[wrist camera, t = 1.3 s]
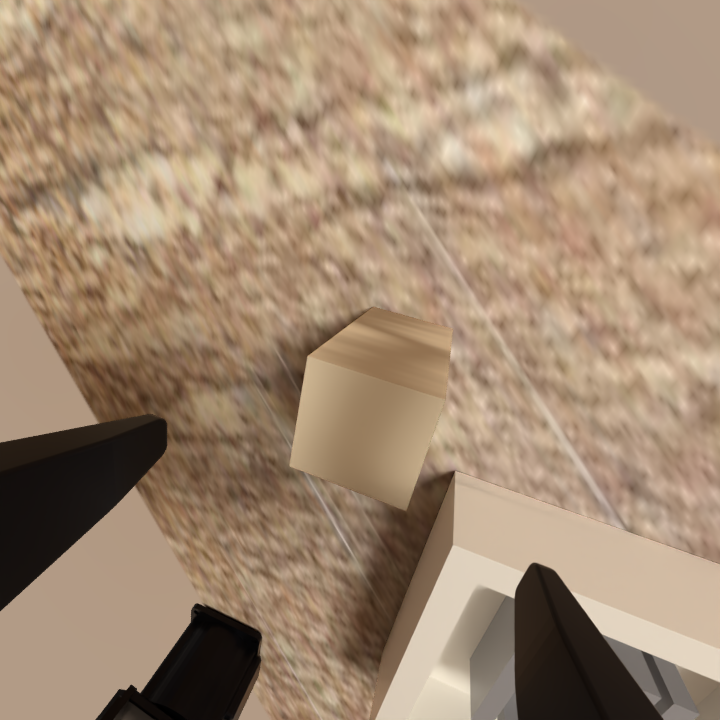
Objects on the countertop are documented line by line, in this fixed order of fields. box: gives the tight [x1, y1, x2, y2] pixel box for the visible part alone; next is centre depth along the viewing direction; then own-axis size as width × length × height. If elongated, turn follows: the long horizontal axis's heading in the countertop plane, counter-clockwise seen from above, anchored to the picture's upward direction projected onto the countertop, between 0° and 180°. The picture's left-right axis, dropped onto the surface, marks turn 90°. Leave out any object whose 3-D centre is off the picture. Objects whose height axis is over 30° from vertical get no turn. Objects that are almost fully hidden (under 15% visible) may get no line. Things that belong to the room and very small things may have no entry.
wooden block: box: [289, 307, 453, 511], centre depth 14 cm, size 4×4×8 cm
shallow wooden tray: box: [369, 471, 720, 720], centre depth 18 cm, size 17×17×5 cm
